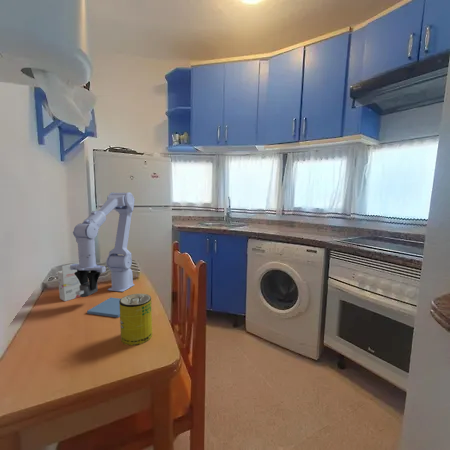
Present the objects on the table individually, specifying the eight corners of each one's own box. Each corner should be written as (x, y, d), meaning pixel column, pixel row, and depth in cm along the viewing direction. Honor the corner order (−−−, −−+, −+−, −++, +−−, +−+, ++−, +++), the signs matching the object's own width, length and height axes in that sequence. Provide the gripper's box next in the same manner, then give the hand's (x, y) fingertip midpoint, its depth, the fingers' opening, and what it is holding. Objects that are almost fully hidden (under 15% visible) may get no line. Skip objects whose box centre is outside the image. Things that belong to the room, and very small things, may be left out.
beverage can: (151, 327, 86) (149, 292, 85) (153, 342, 78) (152, 302, 76) (121, 332, 83) (119, 295, 82) (120, 347, 75) (118, 307, 73)
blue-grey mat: (110, 299, 109) (110, 297, 109) (139, 303, 105) (138, 300, 105) (87, 313, 96) (87, 310, 96) (118, 317, 93) (118, 315, 93)
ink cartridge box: (80, 292, 116) (78, 260, 115) (85, 295, 113) (83, 261, 112) (59, 298, 110) (56, 264, 108) (64, 301, 107) (61, 266, 105)
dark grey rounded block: (92, 289, 107) (92, 279, 106) (99, 290, 106) (99, 280, 106) (74, 298, 98) (73, 287, 97) (81, 299, 97) (80, 288, 97)
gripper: (62, 255, 99) (65, 290, 101) (95, 258, 96) (97, 294, 97) (77, 251, 106) (79, 284, 108) (108, 253, 102) (110, 287, 104)
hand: (89, 288), depth 103 cm, fingers closed on dark grey rounded block, 3 cm apart
